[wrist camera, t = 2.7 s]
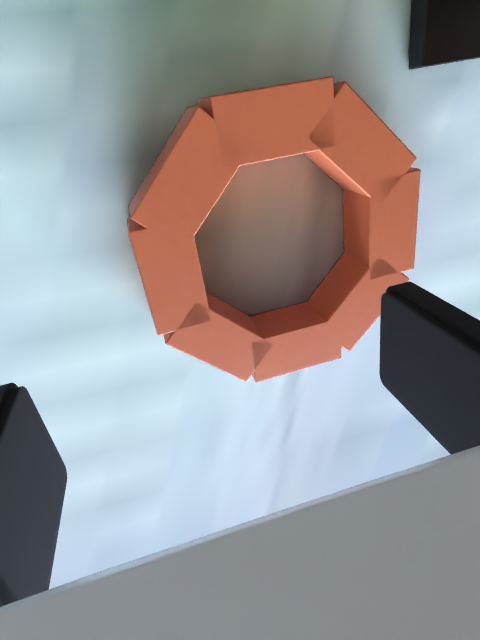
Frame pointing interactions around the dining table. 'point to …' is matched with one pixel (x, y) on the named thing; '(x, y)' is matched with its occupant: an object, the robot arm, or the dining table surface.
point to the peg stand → (443, 32)
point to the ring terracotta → (211, 180)
